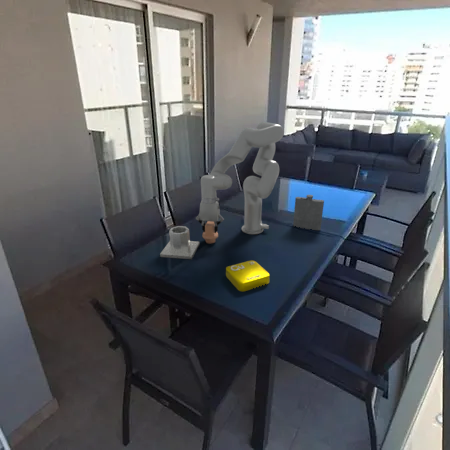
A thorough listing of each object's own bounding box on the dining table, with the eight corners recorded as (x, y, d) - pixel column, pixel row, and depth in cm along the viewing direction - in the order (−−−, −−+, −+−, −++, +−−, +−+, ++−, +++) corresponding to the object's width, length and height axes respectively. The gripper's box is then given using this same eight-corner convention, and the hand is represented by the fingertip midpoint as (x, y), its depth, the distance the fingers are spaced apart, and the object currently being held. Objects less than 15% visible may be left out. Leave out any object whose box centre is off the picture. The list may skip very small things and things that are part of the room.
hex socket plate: (199, 244, 170) (198, 224, 165) (191, 259, 155) (190, 238, 151) (170, 242, 172) (169, 222, 168) (160, 256, 158) (158, 236, 153)
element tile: (240, 293, 131) (240, 283, 129) (224, 275, 143) (224, 266, 141) (271, 283, 137) (271, 274, 135) (253, 267, 149) (253, 258, 147)
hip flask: (321, 228, 186) (325, 196, 178) (319, 231, 183) (323, 198, 174) (293, 224, 192) (296, 192, 184) (292, 226, 189) (294, 194, 181)
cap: (219, 238, 176) (219, 221, 171) (216, 245, 168) (216, 227, 164) (204, 237, 177) (204, 220, 173) (201, 244, 169) (200, 226, 165)
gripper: (226, 198, 165) (227, 229, 172) (194, 196, 167) (196, 227, 175) (224, 203, 158) (224, 235, 165) (190, 201, 161) (192, 233, 168)
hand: (210, 231), depth 170 cm, fingers open, 5 cm apart
